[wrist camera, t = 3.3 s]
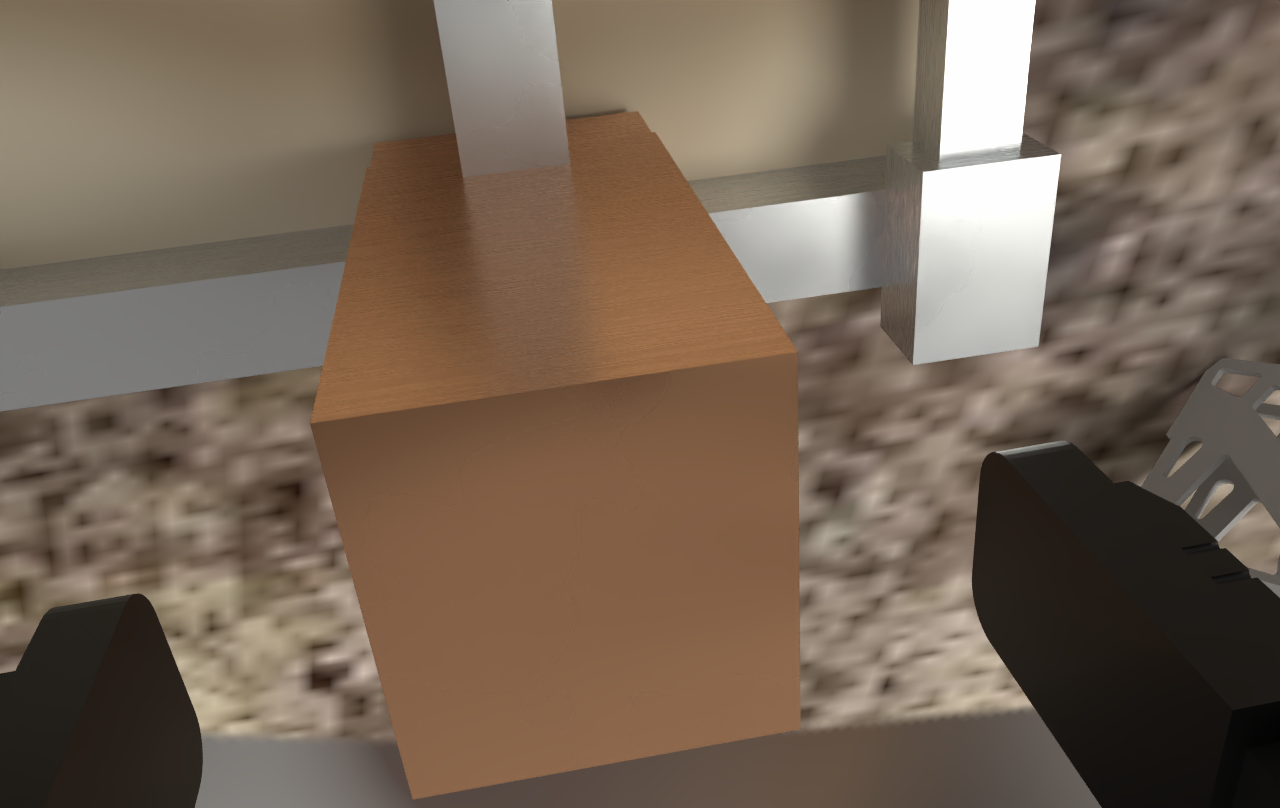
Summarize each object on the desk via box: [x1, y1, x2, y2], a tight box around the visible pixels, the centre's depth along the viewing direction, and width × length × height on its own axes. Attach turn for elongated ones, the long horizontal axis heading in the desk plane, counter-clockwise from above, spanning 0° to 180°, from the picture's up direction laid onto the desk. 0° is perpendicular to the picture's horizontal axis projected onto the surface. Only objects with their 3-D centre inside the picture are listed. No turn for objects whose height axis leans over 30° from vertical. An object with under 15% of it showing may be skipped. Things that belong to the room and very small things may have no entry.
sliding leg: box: [310, 0, 800, 799], centre depth 12 cm, size 9×4×9 cm, turn 5°
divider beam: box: [0, 0, 1061, 411], centre depth 15 cm, size 8×20×3 cm, turn 95°
